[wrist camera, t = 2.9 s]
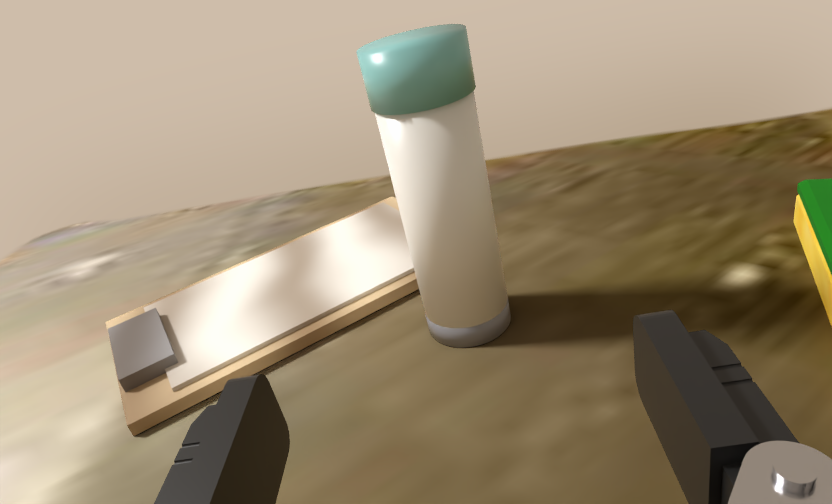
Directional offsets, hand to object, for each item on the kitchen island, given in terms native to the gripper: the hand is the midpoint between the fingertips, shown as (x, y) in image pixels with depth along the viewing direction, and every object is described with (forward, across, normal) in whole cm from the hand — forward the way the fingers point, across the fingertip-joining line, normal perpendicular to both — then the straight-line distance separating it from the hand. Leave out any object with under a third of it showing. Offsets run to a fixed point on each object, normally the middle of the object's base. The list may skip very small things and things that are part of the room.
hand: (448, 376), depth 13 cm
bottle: (+11, 0, +7) cm, 13 cm away
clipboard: (+16, +9, +7) cm, 20 cm away
